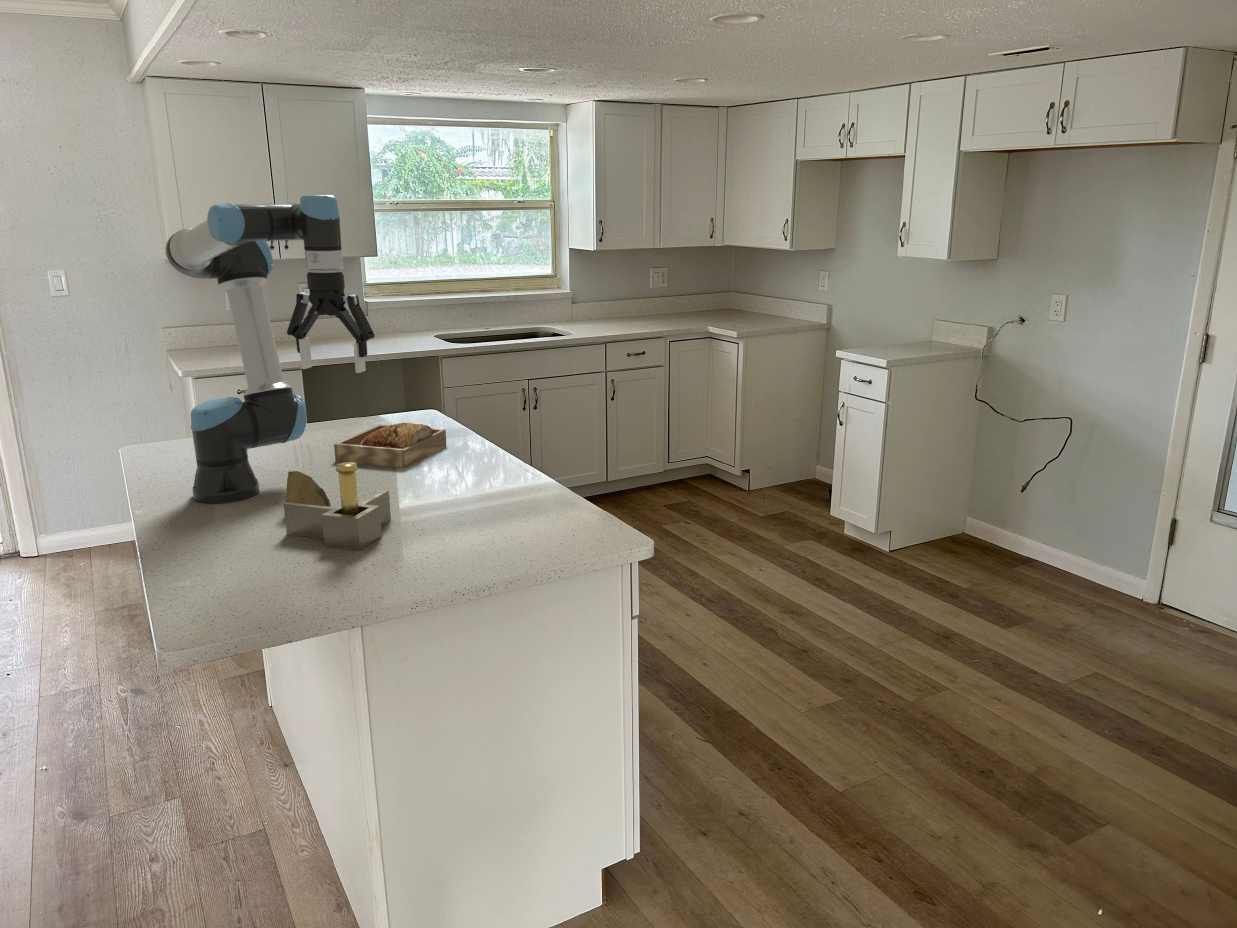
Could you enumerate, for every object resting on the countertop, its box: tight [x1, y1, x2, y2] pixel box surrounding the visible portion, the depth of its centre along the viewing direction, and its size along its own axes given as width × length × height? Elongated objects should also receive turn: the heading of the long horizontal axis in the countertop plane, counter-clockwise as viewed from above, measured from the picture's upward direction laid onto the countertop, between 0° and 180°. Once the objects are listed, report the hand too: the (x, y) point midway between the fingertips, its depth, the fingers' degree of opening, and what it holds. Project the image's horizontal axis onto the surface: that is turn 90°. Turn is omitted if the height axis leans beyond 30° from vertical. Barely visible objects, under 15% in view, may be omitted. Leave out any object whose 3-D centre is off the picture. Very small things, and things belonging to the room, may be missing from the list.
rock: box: [285, 470, 332, 507], centre depth 207 cm, size 11×9×10 cm
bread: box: [360, 422, 433, 449], centre depth 254 cm, size 20×18×10 cm
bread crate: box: [333, 424, 448, 469], centre depth 255 cm, size 22×24×5 cm
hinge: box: [283, 489, 392, 551], centre depth 195 cm, size 20×18×7 cm
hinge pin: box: [335, 462, 359, 516], centre depth 187 cm, size 4×4×16 cm
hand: (333, 370), depth 194 cm, fingers open, 13 cm apart
